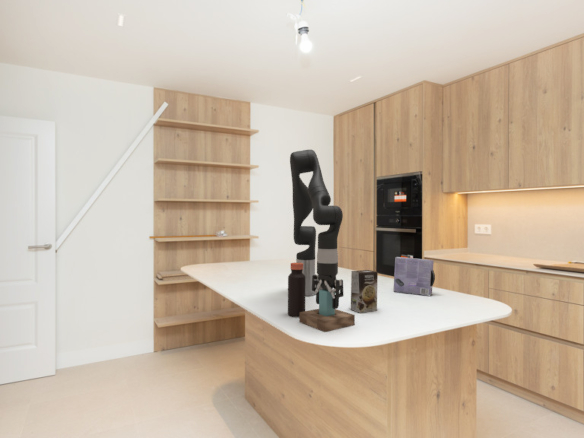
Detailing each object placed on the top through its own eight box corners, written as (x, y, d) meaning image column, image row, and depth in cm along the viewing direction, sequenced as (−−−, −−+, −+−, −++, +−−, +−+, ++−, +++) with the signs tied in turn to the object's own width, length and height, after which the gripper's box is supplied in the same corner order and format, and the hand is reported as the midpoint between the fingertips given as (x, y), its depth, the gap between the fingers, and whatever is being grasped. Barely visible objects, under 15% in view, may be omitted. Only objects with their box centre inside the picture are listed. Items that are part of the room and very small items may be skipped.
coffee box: (359, 313, 148) (360, 272, 148) (350, 309, 154) (350, 270, 154) (377, 310, 153) (378, 271, 152) (367, 307, 158) (368, 269, 158)
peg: (327, 321, 137) (327, 288, 137) (334, 323, 134) (335, 290, 134) (318, 322, 135) (319, 289, 135) (326, 325, 132) (326, 291, 132)
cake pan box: (434, 295, 184) (435, 259, 184) (432, 296, 180) (433, 260, 179) (396, 290, 194) (396, 256, 194) (393, 292, 190) (393, 257, 190)
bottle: (299, 318, 141) (299, 265, 141) (284, 315, 145) (284, 263, 144) (308, 314, 147) (308, 263, 146) (293, 311, 150) (294, 261, 150)
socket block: (328, 315, 144) (328, 306, 144) (354, 324, 133) (354, 314, 133) (299, 321, 136) (299, 312, 136) (325, 331, 125) (325, 321, 125)
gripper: (349, 262, 131) (348, 308, 131) (322, 258, 142) (321, 300, 142) (333, 264, 126) (332, 312, 126) (306, 259, 138) (306, 303, 138)
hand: (326, 306), depth 134 cm, fingers open, 8 cm apart
